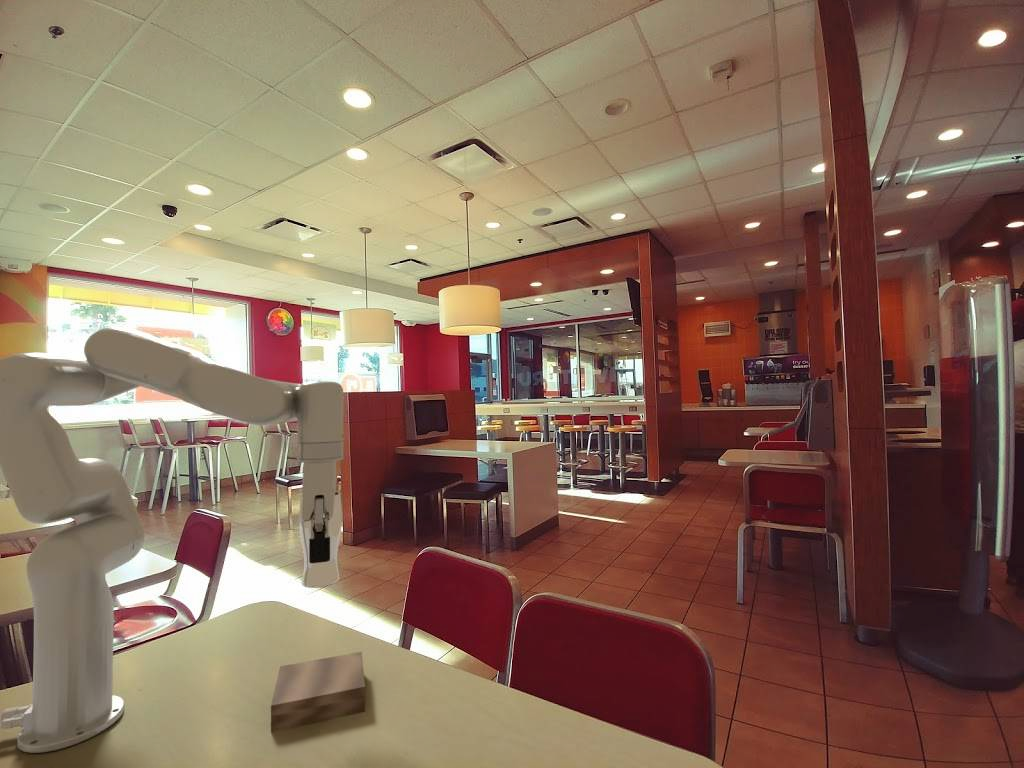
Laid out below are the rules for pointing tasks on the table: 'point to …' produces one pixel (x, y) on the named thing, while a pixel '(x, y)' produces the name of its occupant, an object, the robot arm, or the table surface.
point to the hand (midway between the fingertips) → (320, 554)
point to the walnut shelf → (318, 691)
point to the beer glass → (328, 571)
